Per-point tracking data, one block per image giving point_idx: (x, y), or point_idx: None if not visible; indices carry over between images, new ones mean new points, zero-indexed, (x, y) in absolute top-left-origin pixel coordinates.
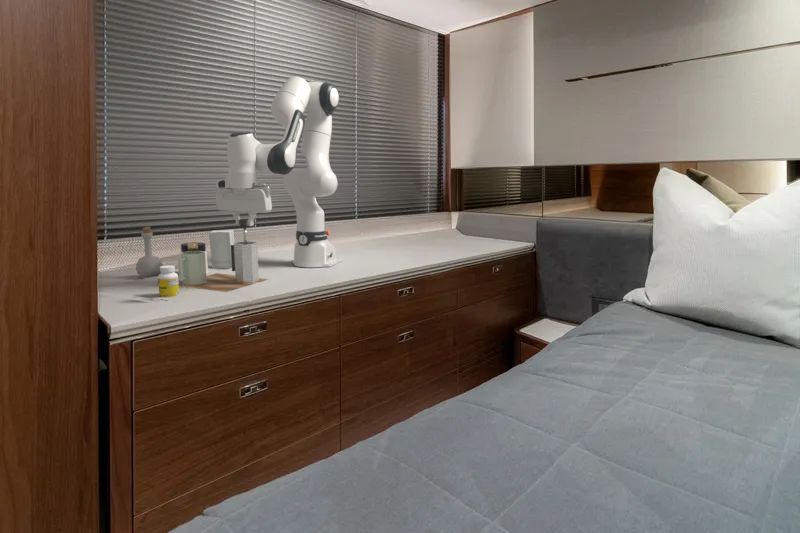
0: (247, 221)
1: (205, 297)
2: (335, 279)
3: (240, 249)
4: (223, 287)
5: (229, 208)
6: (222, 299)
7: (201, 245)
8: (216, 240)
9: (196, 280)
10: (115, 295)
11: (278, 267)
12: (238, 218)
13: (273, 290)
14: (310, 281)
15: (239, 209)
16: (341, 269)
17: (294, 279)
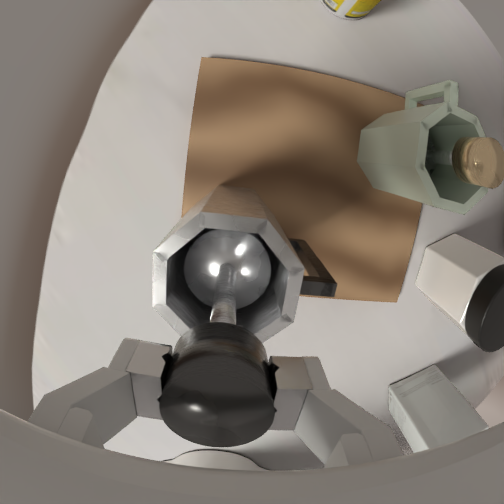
0: (145, 367)
1: (255, 27)
2: (55, 360)
3: (216, 207)
4: (252, 107)
5: (455, 465)
6: (189, 25)
7: (484, 312)
8: (460, 421)
9: (374, 123)
10: (471, 32)
11: (278, 439)
12: (310, 422)
13: (103, 182)
14: (85, 327)
15: (236, 493)
16: (121, 446)
17: (138, 339)
